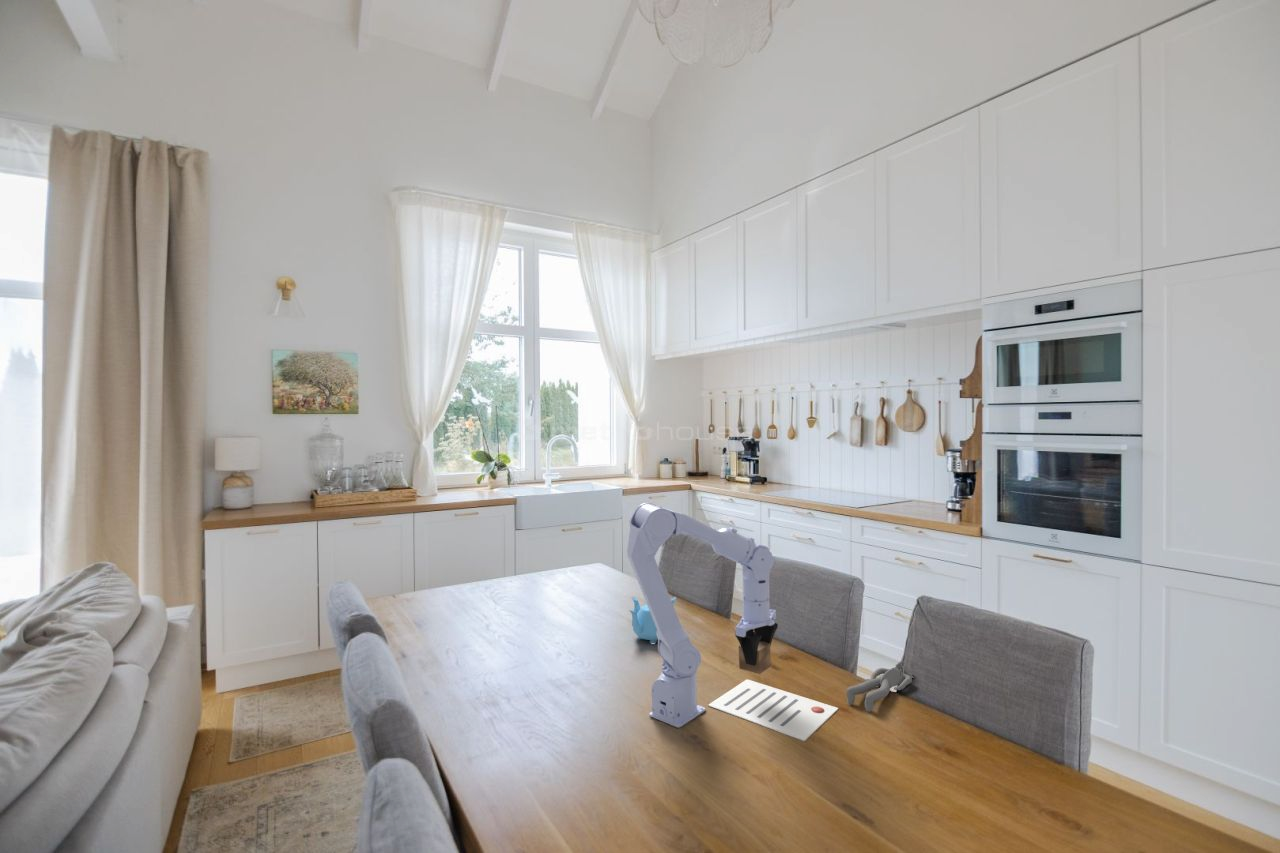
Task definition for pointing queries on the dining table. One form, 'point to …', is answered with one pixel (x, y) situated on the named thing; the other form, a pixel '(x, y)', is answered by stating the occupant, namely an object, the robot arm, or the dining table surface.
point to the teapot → (644, 622)
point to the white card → (775, 709)
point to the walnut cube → (757, 659)
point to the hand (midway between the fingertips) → (757, 659)
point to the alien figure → (880, 685)
